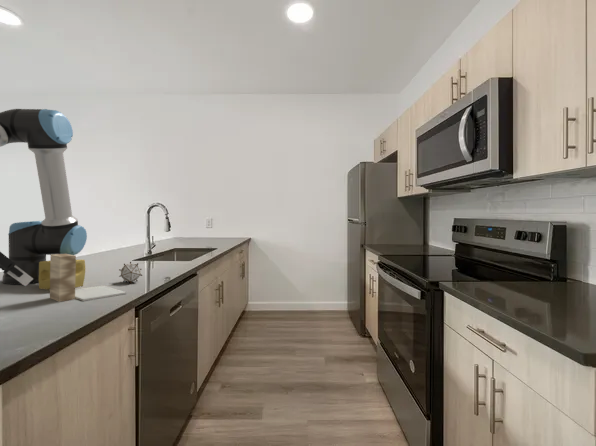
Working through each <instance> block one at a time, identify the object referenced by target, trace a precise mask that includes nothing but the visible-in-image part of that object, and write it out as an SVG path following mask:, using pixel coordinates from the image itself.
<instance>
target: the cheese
mask: <svg viewBox="0 0 596 446" xmlns="http://www.w3.org/2000/svg"><path fill="white" fill-rule="evenodd" d="M85 277H86V260H85V259H76V274H75V289H77V288H81V287H84V283H85ZM80 286H81V287H80ZM38 289H39V290H49V291H50V260H46V261H42V262H39V283H38Z"/></svg>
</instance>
